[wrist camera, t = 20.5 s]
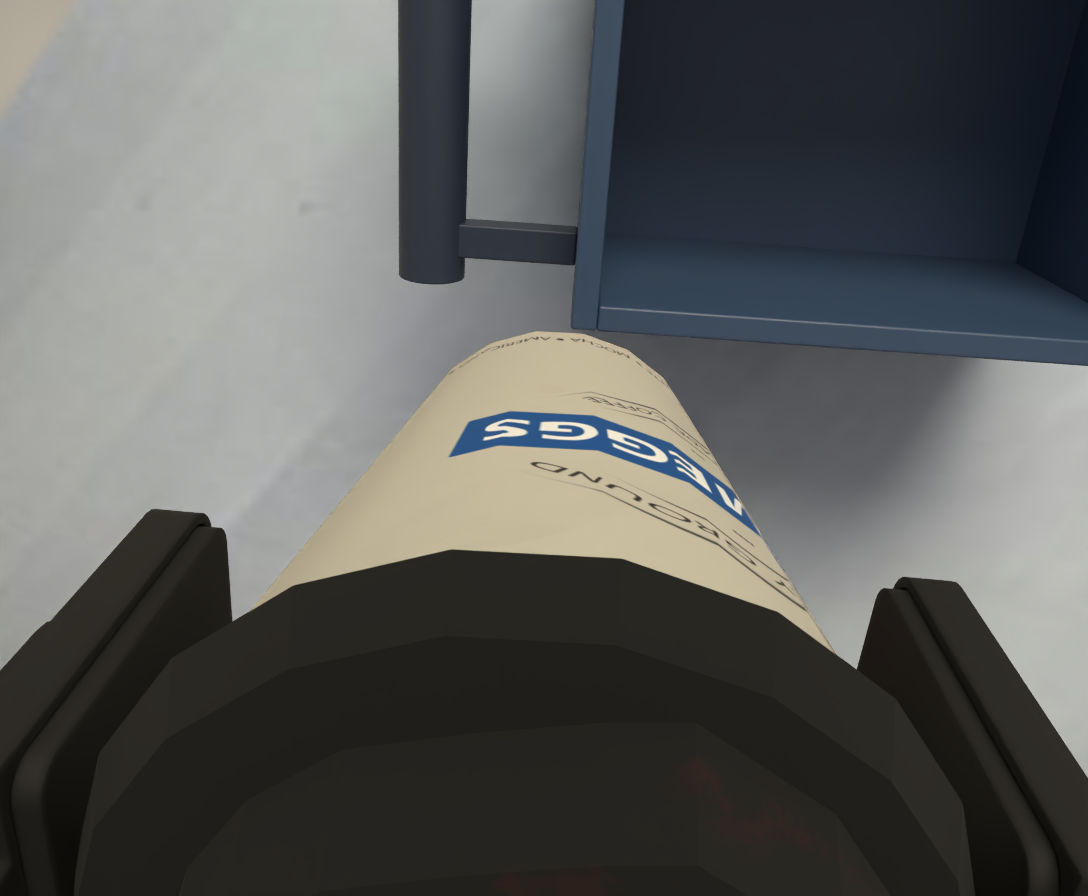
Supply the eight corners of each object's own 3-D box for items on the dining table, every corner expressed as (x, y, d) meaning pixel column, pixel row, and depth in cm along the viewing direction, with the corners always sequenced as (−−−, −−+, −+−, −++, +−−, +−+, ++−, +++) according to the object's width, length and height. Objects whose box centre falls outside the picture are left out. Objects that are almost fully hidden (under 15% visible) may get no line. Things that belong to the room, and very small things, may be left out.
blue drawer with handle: (440, 237, 30) (383, 316, 22) (446, -173, 25) (378, -269, 17) (1022, 277, 30) (1187, 373, 21) (1132, -130, 25) (1395, -206, 17)
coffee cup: (541, 712, 17) (492, 1488, 8) (248, 451, 15) (-247, 1087, 6) (861, 483, 15) (1286, 1190, 6) (568, 147, 13) (532, 436, 4)
